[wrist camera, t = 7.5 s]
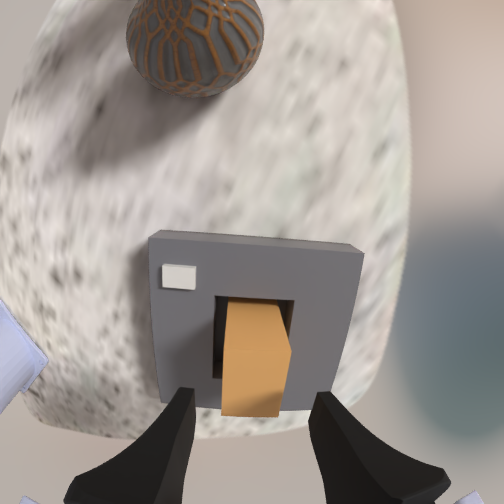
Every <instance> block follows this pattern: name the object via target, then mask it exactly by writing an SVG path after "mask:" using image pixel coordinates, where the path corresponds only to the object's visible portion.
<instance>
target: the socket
mask: <svg viewBox="0 0 504 504" xmlns="http://www.w3.org/2000/svg"><path fill="white" fill-rule="evenodd" d="M363 259H364V253H363V252H362V251H360V250H358V249H357V248H355V247H353V246H352V245H350V244H343V243H331V242H320V241H308V240H296V239H283V238H271V237H258V236H244V235H230V234H216V233H202V232H187V231H171V230H160V231H158V232H156V233H155V234H153V235H152V236H150V237H149V286H150V306H151V321H152V333H153V344H154V354H155V363H156V371H157V379H158V386H159V393H160V399H161V402H162V403H169V402H170V401H171V399H172V398H173V396H174V395H175V393H176V391H177V390H178V388H180V387H186V388H195V407H202V408H213V409H222V381H223V357H224V342H225V331H226V320H227V309H228V299H229V296H230V297H245V298H262V299H276V300H277V303H278V306H279V310H280V313H281V317H282V320H283V323H284V327H285V330H286V334H287V337H288V341H289V344H290V347H291V351H292V352H291V358H290V363H289V368H288V373H287V378H286V383H285V388H284V392H283V397H282V402H281V406H280V411H296V410H312V407H313V404H314V401H315V398H316V394H317V392H324V391H331V388H332V385H333V382H334V379H335V375H336V372H337V369H338V365H339V362H340V359H341V355H342V352H343V348H344V344H345V341H346V337H347V333H348V329H349V325H350V321H351V317H352V313H353V308H354V304H355V299H356V295H357V290H358V285H359V280H360V275H361V270H362V265H363Z"/></svg>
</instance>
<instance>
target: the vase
mask: <svg viewBox="0 0 504 504" xmlns="http://www.w3.org/2000/svg"><path fill="white" fill-rule="evenodd" d="M263 40H264V23H263V18H262V14H261V12H260V9H259V7H258V5H257V3H256V1H255V0H139V1H138V2H137V4H136V5H135V7H134V9H133V11H132V13H131V15H130V17H129V20H128V24H127V31H126V41H127V48H128V52H129V55H130V58H131V60H132V62H133V64H134V66H135V68H136V69H137V71H138V72H139V73H140V74H141V75H142V76H143V78H145V79H146V80H147V81H148V82H149V83H150V84H152V85H153V86H155V87H156V88H158V89H159V90H161V91H163V92H166V93H168V94H172V95H175V96H180V97H188V98H198V97H206V96H211V95H215V94H218V93H220V92H223V91H225V90H227V89H229V88H231V87H232V86H234V85H235V84H237V83H238V82H239V81H241V80H242V79H243V78H244V77H245V76H246V75H247V74H248V73H249V71H250V70H251V69H252V68H253V66H254V65H255V63H256V61H257V59H258V57H259V54H260V52H261V49H262V45H263Z"/></svg>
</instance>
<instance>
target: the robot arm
mask: <svg viewBox="0 0 504 504" xmlns="http://www.w3.org/2000/svg"><path fill="white" fill-rule="evenodd" d="M47 363H48V358H47V357H46V356H45V355H44V353H43V352H42V351H41V350H40V349H39V348H38V347H37V346H36V344H35V343H34V342H33V341H32V340H31V339H30V337H29V336H28V335H27V334H26V332H25V331H24V330H23V329H22V327H21V326H20V325H19V324H18V322H17V321H16V320H15V318H14V317H13V316H12V314H11V313H10V312H9V310H8V309H7V308H6V306H5V305H4V303H3V302H2V300H1V299H0V414H1V413H2V412H3V410H4V409H5V408H6V406H7V405H8V404H9V403H10V402H11V400H12V399H13V398H14V397H15V396H16V394H17V393H18V392H19V391H21V392H23V393H25V392H26V391H27V389H28V388H29V387H30V385H31V384H32V383H33V381H34V380H35V379H36V377H37V376H38V375H39V373H40V372H41V371H42V370H43V368H44V367H45V366H46V365H47ZM195 424H196V408H195V388H186V387H180V388H178V390H177V391H176V393H175V395H174V396H173V398H172V399H171V401H170V402H169V404H168V405H167V407H166V408H165V409H164V410H163V412H162V413H161V414H160V415H159V417H158V418H157V419H156V420H155V421H154V423H153V424H152V425H151V426H150V427H149V428H148V429H147V430H146V431H145V432H144V433H143V434H142V435H141V436H140V437H139V438H138V439H137V440H136V441H135V442H134V443H132V444H131V445H130V446H129V447H127V448H126V449H125V450H123V451H122V452H121V453H119V454H118V455H116V456H115V457H114V458H112V459H110V460H109V461H107V462H105V463H103V464H102V465H100V466H98V467H96V468H94V469H92V470H90V471H87V472H85V473H83V474H80V475H78V476H76V477H75V478H74V480H73V481H72V483H71V484H70V486H69V488H68V491H67V493H66V495H65V498H64V503H65V504H182V494H183V485H184V478H185V473H186V469H187V465H188V460H189V457H190V452H191V448H192V444H193V440H194V433H195ZM308 424H309V431H310V437H311V442H312V445H313V449H314V452H315V455H316V459H317V462H318V465H319V468H320V472H321V475H322V479H323V483H324V489H325V495H326V503H327V504H435V502H434V501H435V500H436V499H437V498H438V497H439V496H441V495H442V494H443V493H444V492H445V491H446V490H447V489H448V488H449V486H450V484H451V481H450V479H449V477H448V476H447V474H446V472H445V471H444V469H443V468H439V467H436V466H432V465H429V464H426V463H423V462H420V461H418V460H415V459H413V458H411V457H409V456H407V455H405V454H403V453H401V452H399V451H397V450H395V449H393V448H392V447H391V446H389V445H387V444H386V443H385V442H383V441H382V440H380V439H379V438H377V437H376V436H375V435H374V434H372V433H371V432H370V431H369V430H368V429H366V428H365V427H364V426H363V425H362V424H361V423H360V422H359V421H358V420H357V419H356V418H355V417H354V416H353V415H352V414H351V413H350V412H349V411H348V410H347V409H346V408H345V407H344V406H343V405H342V404H341V403H340V402H339V400H338V399H337V398H336V397H335V396H334V395H333V394H332V393H331V392H330V391H324V392H317V394H316V398H315V401H314V404H313V407H312V411H311V414H310V417H309V420H308ZM20 504H39V503H37V502H35V501H33V500H32V499H30V498H29V497H27V496H23V497H22V499H21V502H20ZM454 504H484V503H483V501H482V500H481V498H480V496H479V495H478V493H477V491H476V490H474V491H473V492H471V493H469V494H468V495H466V496H464V497H463V498H461V499H460V500H458V501H456V502H455V503H454Z"/></svg>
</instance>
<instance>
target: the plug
mask: <svg viewBox="0 0 504 504" xmlns="http://www.w3.org/2000/svg"><path fill="white" fill-rule="evenodd" d="M291 352H292V351H291V347H290V344H289V341H288V337H287V334H286V330H285V327H284V323H283V320H282V317H281V313H280V310H279V306H278V303H277V300H276V299H262V298H245V297H230V296H229V299H228V309H227V320H226V331H225V342H224V357H223V381H222V410H221V416H237V417H278V415H279V411H280V406H281V402H282V397H283V392H284V388H285V383H286V378H287V373H288V368H289V363H290V358H291Z"/></svg>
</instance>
